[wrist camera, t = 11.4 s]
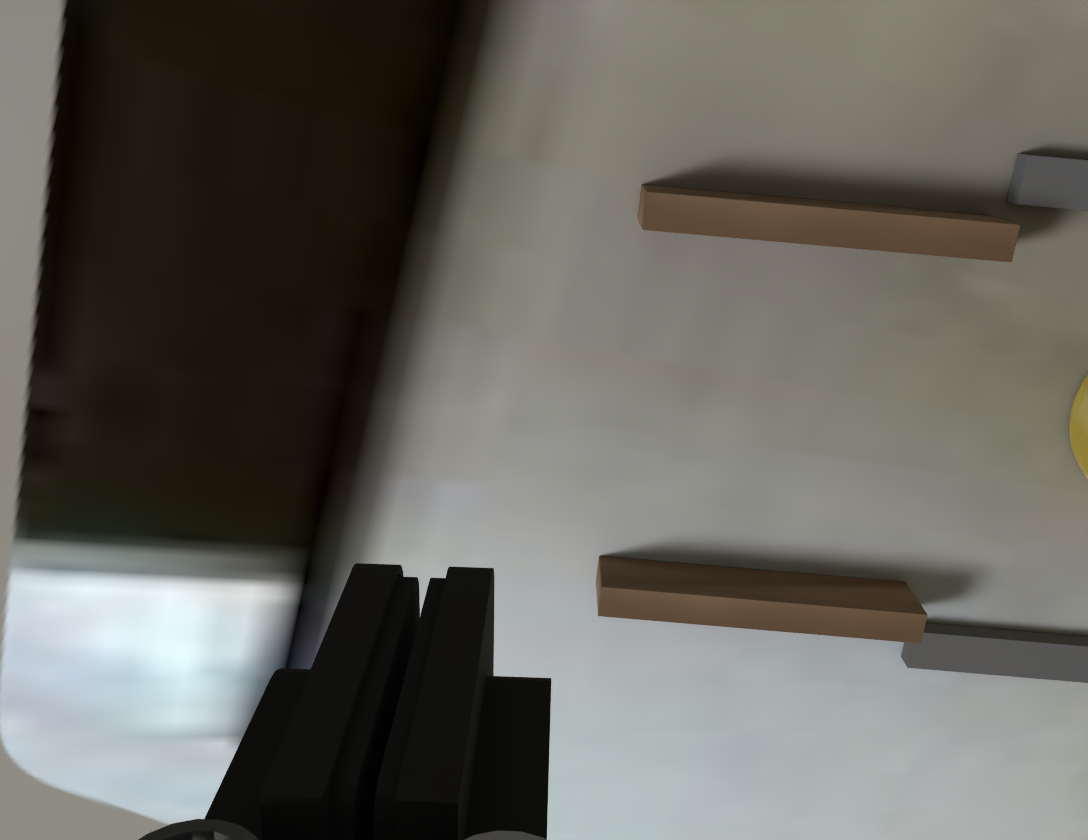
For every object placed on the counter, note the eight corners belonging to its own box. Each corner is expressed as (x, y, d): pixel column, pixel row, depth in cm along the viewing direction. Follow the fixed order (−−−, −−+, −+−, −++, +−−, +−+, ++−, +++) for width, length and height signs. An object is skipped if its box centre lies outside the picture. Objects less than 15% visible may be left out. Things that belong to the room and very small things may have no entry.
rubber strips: (1017, 153, 33) (1028, 155, 33) (1281, 177, 33) (1298, 179, 33) (901, 656, 40) (907, 667, 39) (1123, 675, 40) (1134, 686, 39)
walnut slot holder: (641, 184, 34) (647, 192, 32) (988, 215, 34) (1020, 225, 32) (596, 583, 39) (598, 616, 37) (899, 609, 39) (920, 643, 37)
